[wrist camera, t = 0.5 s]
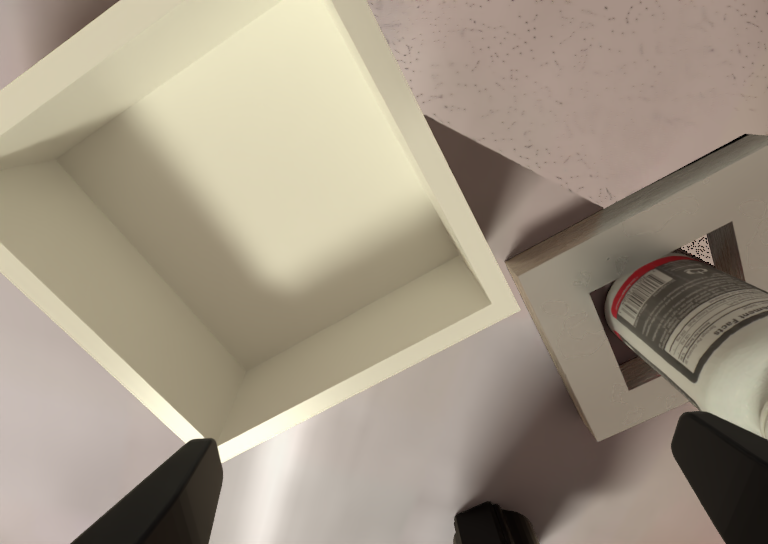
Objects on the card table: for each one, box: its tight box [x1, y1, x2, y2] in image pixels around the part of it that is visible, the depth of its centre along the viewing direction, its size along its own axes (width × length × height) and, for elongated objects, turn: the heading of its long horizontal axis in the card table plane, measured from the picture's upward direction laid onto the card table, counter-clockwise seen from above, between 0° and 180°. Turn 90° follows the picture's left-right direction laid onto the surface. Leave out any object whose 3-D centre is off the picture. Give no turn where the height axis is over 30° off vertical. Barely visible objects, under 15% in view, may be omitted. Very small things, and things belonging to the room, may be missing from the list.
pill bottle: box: [605, 253, 768, 440], centre depth 17 cm, size 5×5×10 cm
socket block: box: [505, 134, 768, 442], centre depth 20 cm, size 12×12×2 cm
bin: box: [0, 0, 520, 463], centre depth 16 cm, size 14×14×6 cm
